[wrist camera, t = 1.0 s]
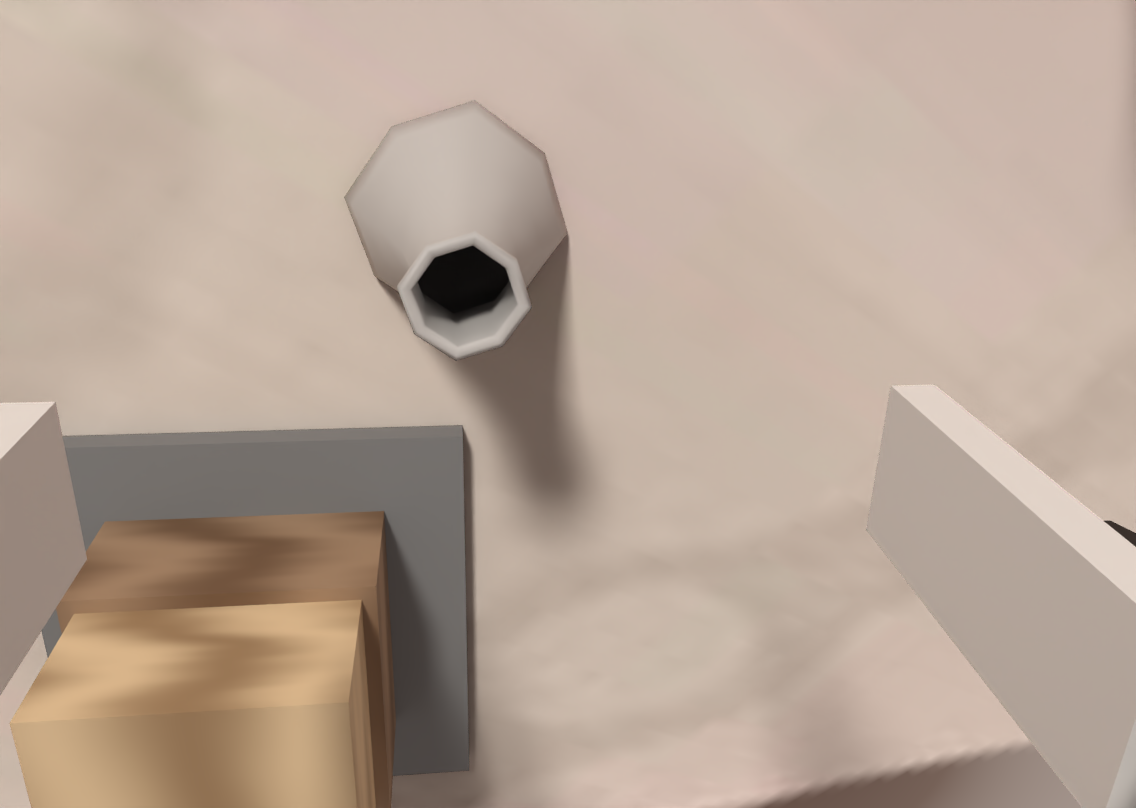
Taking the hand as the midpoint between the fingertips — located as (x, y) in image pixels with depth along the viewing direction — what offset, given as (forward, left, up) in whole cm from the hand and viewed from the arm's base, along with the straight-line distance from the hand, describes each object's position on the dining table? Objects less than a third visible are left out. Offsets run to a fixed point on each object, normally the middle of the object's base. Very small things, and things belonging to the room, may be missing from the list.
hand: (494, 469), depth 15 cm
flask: (0, 0, -20) cm, 20 cm away
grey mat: (-8, -16, -19) cm, 26 cm away
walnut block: (-8, -16, -18) cm, 26 cm away
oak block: (-8, -16, -13) cm, 22 cm away
